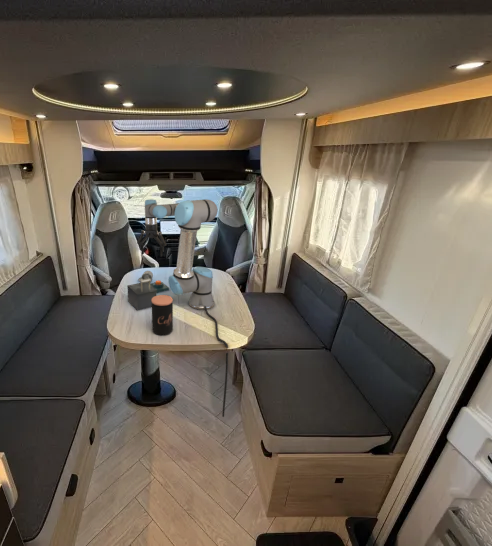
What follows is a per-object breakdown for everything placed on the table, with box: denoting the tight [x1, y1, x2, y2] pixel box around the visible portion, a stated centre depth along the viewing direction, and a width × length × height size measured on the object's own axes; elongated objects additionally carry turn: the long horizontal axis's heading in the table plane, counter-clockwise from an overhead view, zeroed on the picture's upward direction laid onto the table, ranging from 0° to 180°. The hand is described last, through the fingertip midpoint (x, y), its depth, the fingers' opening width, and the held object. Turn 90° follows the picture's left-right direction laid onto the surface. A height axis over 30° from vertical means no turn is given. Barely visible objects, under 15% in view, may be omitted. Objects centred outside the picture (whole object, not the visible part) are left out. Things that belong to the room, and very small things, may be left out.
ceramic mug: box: [137, 270, 154, 284], centre depth 222 cm, size 11×8×8 cm
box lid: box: [126, 278, 157, 296], centre depth 185 cm, size 16×13×8 cm
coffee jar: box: [151, 294, 174, 337], centre depth 157 cm, size 11×11×18 cm
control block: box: [150, 281, 170, 294], centre depth 210 cm, size 12×10×4 cm
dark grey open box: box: [126, 286, 158, 311], centre depth 188 cm, size 15×13×10 cm
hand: (151, 255), depth 209 cm, fingers open, 13 cm apart
